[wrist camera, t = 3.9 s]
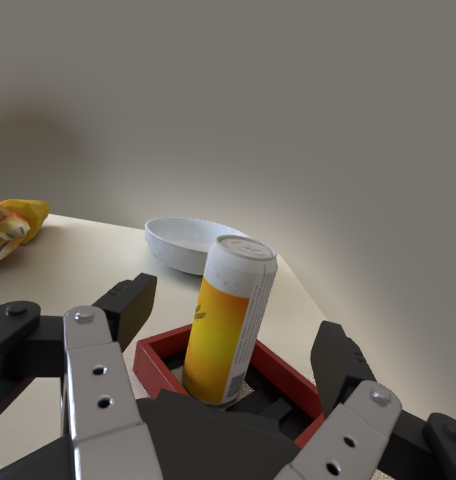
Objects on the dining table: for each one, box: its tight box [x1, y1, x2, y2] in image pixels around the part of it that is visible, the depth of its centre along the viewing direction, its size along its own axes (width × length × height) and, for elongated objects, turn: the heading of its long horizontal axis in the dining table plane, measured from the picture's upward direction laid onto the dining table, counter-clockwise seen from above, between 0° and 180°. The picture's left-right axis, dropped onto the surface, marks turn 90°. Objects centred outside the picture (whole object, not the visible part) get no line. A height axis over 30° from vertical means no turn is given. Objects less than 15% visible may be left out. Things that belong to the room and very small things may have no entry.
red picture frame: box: [133, 324, 325, 449], centre depth 26 cm, size 16×12×4 cm
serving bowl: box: [145, 217, 250, 275], centre depth 55 cm, size 21×21×7 cm
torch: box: [0, 199, 49, 260], centre depth 47 cm, size 8×8×25 cm
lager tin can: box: [182, 235, 278, 405], centre depth 26 cm, size 6×6×15 cm
